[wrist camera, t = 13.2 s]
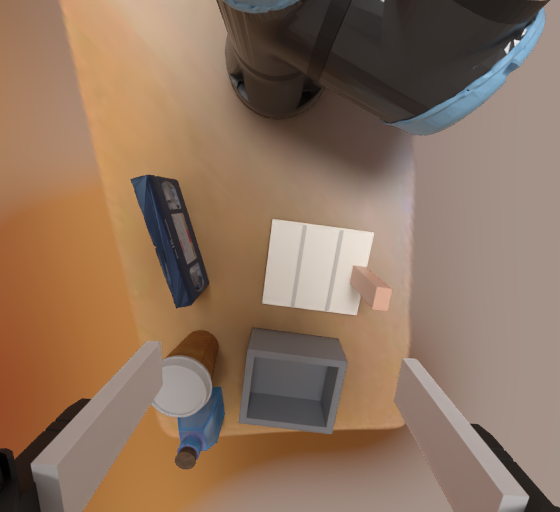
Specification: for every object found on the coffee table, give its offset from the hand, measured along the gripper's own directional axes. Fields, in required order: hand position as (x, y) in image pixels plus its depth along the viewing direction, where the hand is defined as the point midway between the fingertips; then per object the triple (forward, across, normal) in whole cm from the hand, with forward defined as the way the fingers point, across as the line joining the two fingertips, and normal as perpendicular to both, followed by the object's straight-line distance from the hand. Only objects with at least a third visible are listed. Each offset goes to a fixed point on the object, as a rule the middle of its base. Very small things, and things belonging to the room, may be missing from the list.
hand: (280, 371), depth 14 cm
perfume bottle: (+31, -13, -31) cm, 46 cm away
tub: (+31, +3, -22) cm, 38 cm away
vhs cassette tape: (+32, -16, +2) cm, 36 cm away
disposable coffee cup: (+31, -14, -19) cm, 39 cm away
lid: (+31, +6, -2) cm, 31 cm away
